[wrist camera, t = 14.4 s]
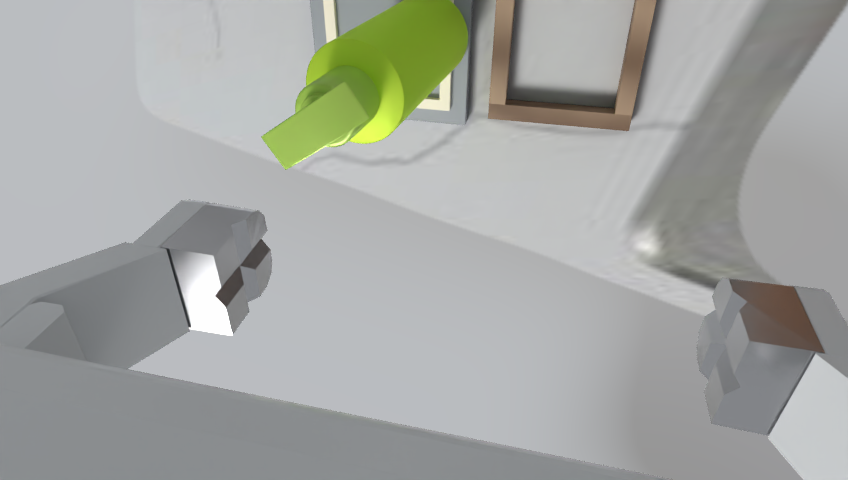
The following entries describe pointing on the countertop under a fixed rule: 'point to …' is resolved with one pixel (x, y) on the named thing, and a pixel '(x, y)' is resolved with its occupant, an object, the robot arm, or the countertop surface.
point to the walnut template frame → (564, 112)
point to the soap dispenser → (372, 78)
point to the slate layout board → (357, 3)
